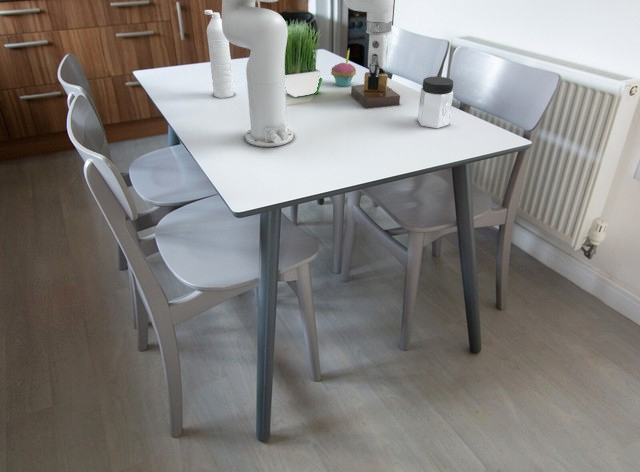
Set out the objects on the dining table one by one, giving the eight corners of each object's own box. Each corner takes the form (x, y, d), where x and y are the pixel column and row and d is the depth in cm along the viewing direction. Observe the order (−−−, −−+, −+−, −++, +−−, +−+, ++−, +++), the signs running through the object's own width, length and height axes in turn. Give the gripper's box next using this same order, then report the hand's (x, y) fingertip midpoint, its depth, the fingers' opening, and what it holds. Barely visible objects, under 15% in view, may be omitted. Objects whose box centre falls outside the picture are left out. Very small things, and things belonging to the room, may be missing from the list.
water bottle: (237, 95, 164) (230, 12, 150) (220, 99, 160) (211, 15, 146) (223, 89, 169) (215, 9, 155) (206, 93, 166) (196, 11, 152)
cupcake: (346, 79, 179) (347, 44, 172) (360, 85, 173) (362, 49, 166) (326, 83, 175) (326, 47, 169) (339, 89, 169) (340, 52, 162)
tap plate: (399, 105, 156) (400, 95, 154) (366, 108, 153) (366, 98, 151) (382, 91, 167) (383, 82, 165) (350, 94, 164) (351, 85, 163)
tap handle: (386, 90, 158) (387, 73, 156) (385, 91, 157) (387, 75, 154) (364, 88, 160) (365, 72, 157) (363, 90, 158) (364, 73, 155)
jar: (431, 130, 138) (437, 86, 131) (411, 121, 143) (415, 79, 137) (454, 123, 142) (461, 81, 136) (433, 115, 148) (439, 74, 141)
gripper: (388, 33, 140) (383, 94, 150) (394, 22, 154) (390, 78, 164) (361, 32, 142) (358, 92, 151) (370, 21, 156) (367, 77, 165)
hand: (375, 85), depth 157 cm, fingers open, 9 cm apart
